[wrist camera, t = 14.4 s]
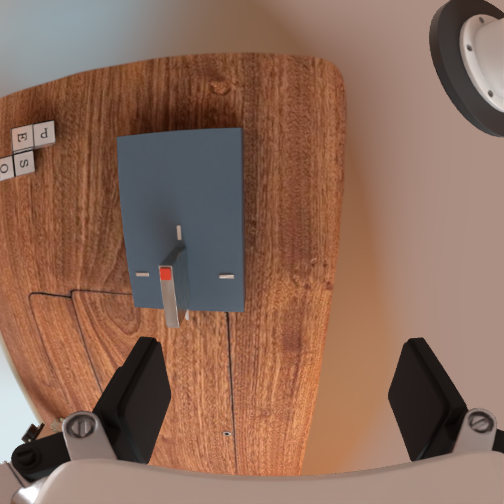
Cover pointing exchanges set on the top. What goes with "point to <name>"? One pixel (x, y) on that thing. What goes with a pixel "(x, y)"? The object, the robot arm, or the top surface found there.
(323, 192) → the top surface
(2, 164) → the building blocks
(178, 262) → the lever
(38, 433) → the pneumatic valve
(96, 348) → the top surface
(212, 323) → the top surface
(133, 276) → the blue-grey rectangular block
